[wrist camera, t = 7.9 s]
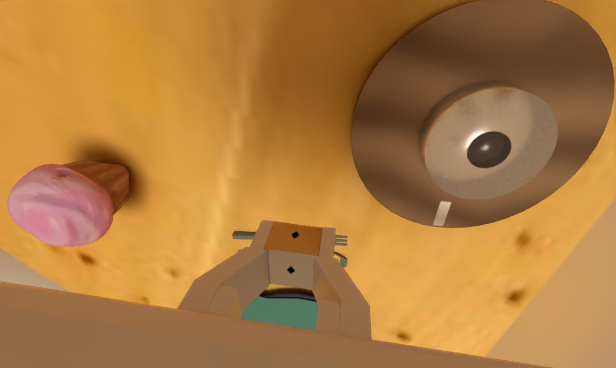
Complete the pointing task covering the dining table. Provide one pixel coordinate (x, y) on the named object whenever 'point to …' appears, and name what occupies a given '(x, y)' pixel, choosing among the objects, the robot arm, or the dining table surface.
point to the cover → (487, 140)
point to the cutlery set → (285, 301)
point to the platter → (473, 69)
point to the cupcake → (69, 201)
